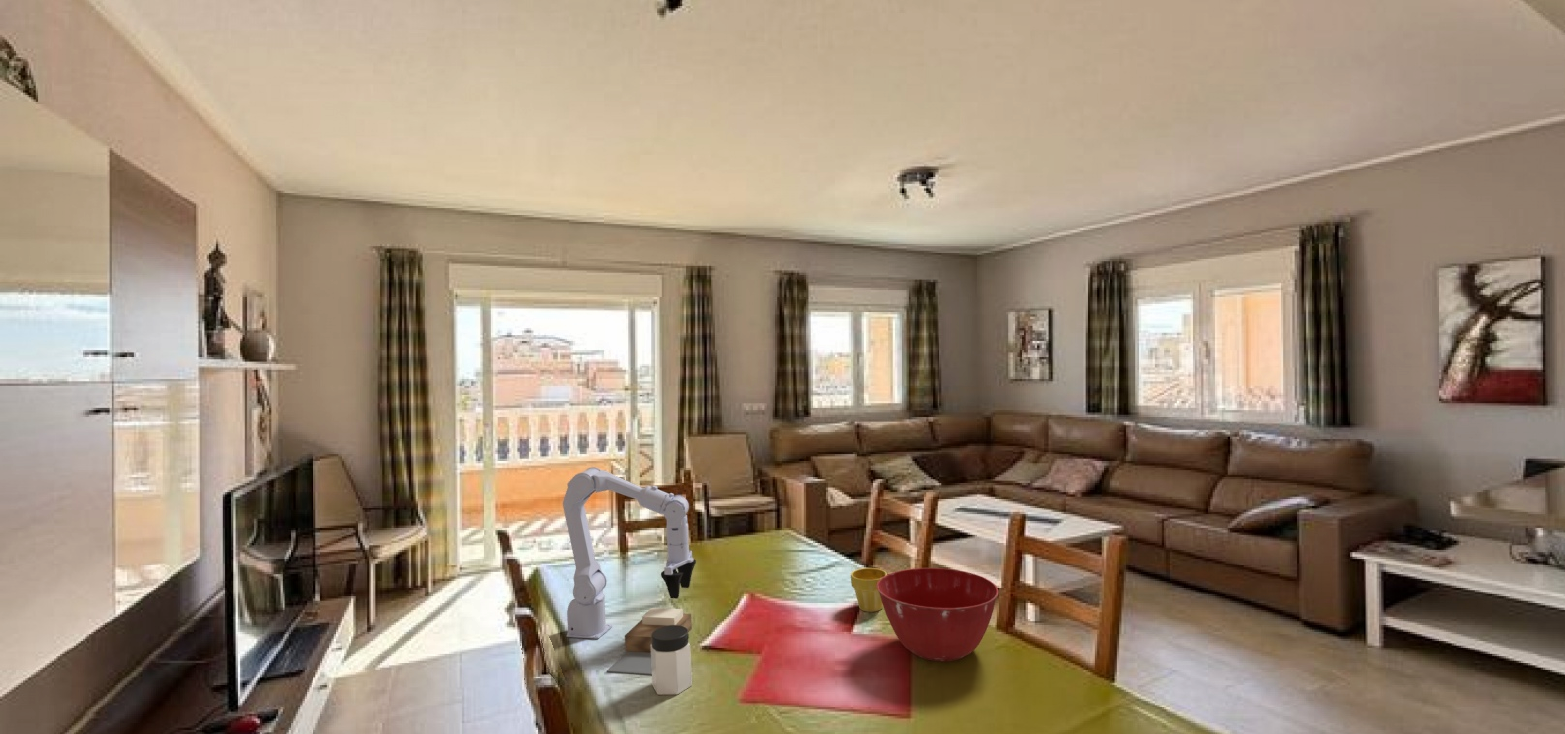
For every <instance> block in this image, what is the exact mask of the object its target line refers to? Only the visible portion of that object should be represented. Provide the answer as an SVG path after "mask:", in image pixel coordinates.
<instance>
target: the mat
mask: <svg viewBox="0 0 1565 734" xmlns="http://www.w3.org/2000/svg"><path fill="white" fill-rule="evenodd" d="M606 672H607V673H618V674H619V673H620V674H634V675H647V676H648V675H649V676H652V668H651V653H648V652H631V651H624V653H623V654H622V655H621V656H620V657H619V658H618V659H617V660H616V661H615V662H614V663H613V664H612V665H611V666H610V667H609V668H608V669H606Z"/></svg>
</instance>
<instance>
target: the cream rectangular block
mask: <svg viewBox="0 0 1565 734" xmlns="http://www.w3.org/2000/svg"><path fill="white" fill-rule="evenodd" d="M683 613H684V610H683V608H669V607H668V608H667V607H663V608H662V607H651V608H650V609H648V610H647V611H646V612H645V613H644V614H643V615H642V616H641V620H642V624H647V625H667V626H669V625H676V624H677V623H678V622H679V621H680V619H681V618H682V617H683Z"/></svg>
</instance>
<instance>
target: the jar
mask: <svg viewBox="0 0 1565 734" xmlns="http://www.w3.org/2000/svg"><path fill="white" fill-rule="evenodd" d="M689 638H690V636H689V632H688V630H687V628H686V627H683V626H680V625H669V626H664V627H660V628H658V629H656V630H655V631H653V632H652V634H651V642H652V644H651V645H650V646H651V668H652V675H651V684H652V687H653V689H654V691H655V693H656V694H657V695H661V696H663V695H680V694H681V693H682V692H685V690H687V689H689V688H690V687H691V686H692V685H693V682H692V681H693V679H692V676H693V675H692V656H691V644H690V642H689Z"/></svg>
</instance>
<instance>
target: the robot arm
mask: <svg viewBox="0 0 1565 734" xmlns="http://www.w3.org/2000/svg"><path fill="white" fill-rule="evenodd" d="M605 491H611V492H615V493H617V494H621V495H623V496H626V497H628V498H631V499H634V500H637V502H638V504H639V506H640V507H641V508H645V509H647V510H650V511H652V512H655V513H657V514H659V515H663V516H664V518H665V520H666V545H667V546H666V549H667V559H666V563H665V566H664V567H663V570H662V571H661V572H660V577H661V579H663V581H664V583H665V586H666V588H667V591H668V595H669V598H670V599H675V600H676V599H679V597H680V589H689V588H690V585H691V580H692V575H693V571H694V567H696V566H695V565H696V564H697V560H696V559H694V557H693V551H692V550H690V546H689V545H690V544H689V543H690V541H689V540H690V539H689V523H688V515H687V513H688V512H689V509H690V503H689V501H688V499H687V498H685V497H684V496H683V495H681V494H676V495H675V494H674V493H672V492H670V493H668V492H665V491H663V490H660V489H658V486H657V485H652V486H650V485H647V486H645V487H641V486H639V485H636V484H635V483H632V482H630V481H628V480H627V479H624V478H623V477H622V478H621V477H619V476H618V475H615V474H613V473H611V472H609V471H607V470H605V469H600V468H599V467H593V466H591V467H589V468H587V469H585V470H583V471H582V472H578V473H576V474H574V476H572V478H571V479H570V480H569V481H568V483H567V489H566V491H565V495H564V497H563V499H562V507H563V512H564V517H565V522H566V527H567V530H568V531H567V532H568V536H569V540H570V541H569V542H570V547H571V550H572V555H573V560H574V565H575V570H574V574H573V578H572V579H573V588H572V595H573V599H571V600H570V601H569V604H568V606H567V611H566V617H567V618H566V619H567V634H566V638H578V639H583V638H584V639H600V638H601V637H602V636H603V635H604V634H605V633H607V631H609V630H611V628H612V627H613V624H607V623H606V621H607V620H606V619H607V618H606V603H605V602H606V600H605V593H604V589H605V588H606V586H607V582H608V580H607V576H606V574H605V573H604V572H603V571H602V570H603V569H602V568H601V565H600V563H599V562H598V561H597V560H596V556H595V550H594V545H593V541H592V538H591V537H592V536H591V532H590V531H591V530H590V527H589V523H588V517H587V513H586V508H585V505H586V503H587V501H589V499H590V497H591V496H592V495H593V494H594V493H601V492H605ZM680 587H681V588H680Z"/></svg>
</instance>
